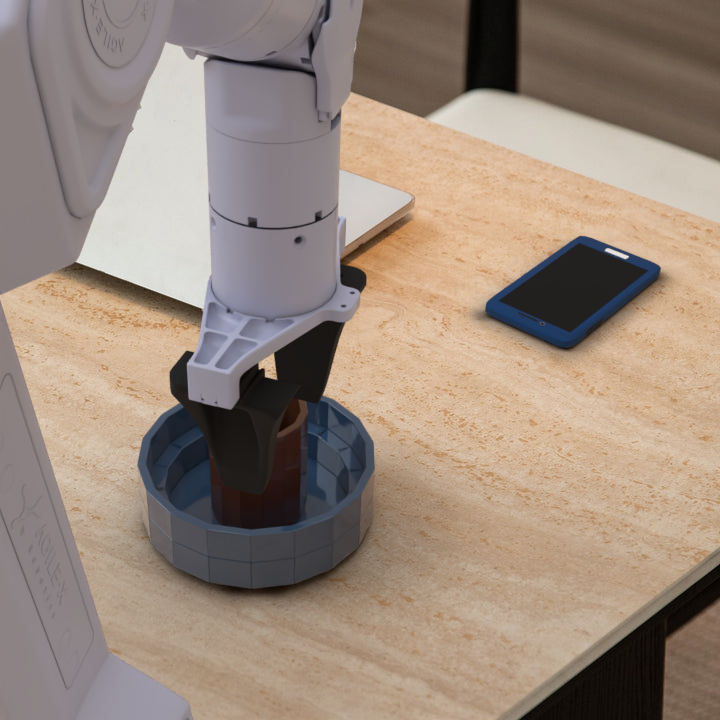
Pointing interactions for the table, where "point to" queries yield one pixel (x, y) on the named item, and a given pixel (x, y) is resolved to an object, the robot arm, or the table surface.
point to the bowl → (265, 545)
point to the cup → (270, 481)
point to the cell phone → (572, 291)
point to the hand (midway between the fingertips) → (274, 439)
